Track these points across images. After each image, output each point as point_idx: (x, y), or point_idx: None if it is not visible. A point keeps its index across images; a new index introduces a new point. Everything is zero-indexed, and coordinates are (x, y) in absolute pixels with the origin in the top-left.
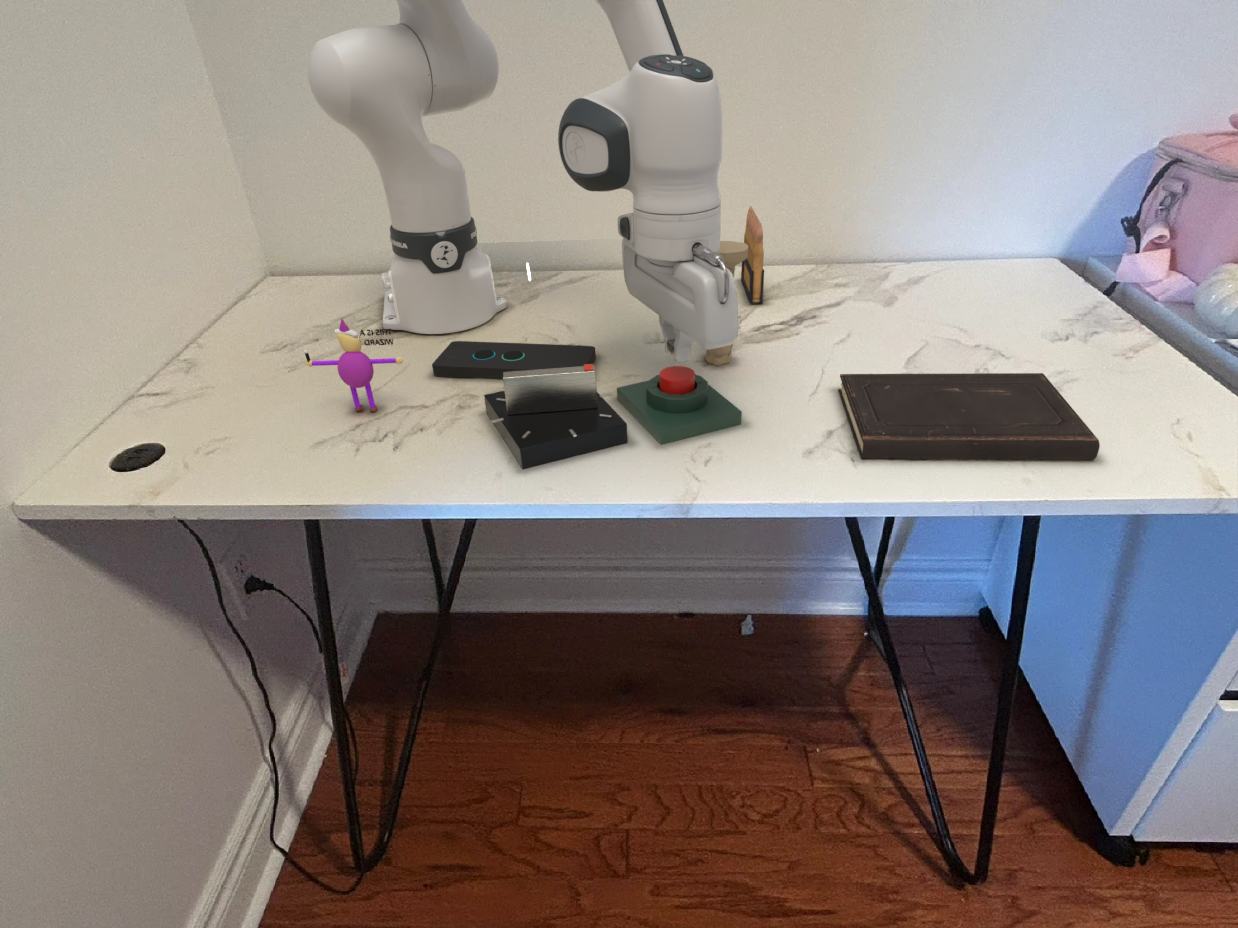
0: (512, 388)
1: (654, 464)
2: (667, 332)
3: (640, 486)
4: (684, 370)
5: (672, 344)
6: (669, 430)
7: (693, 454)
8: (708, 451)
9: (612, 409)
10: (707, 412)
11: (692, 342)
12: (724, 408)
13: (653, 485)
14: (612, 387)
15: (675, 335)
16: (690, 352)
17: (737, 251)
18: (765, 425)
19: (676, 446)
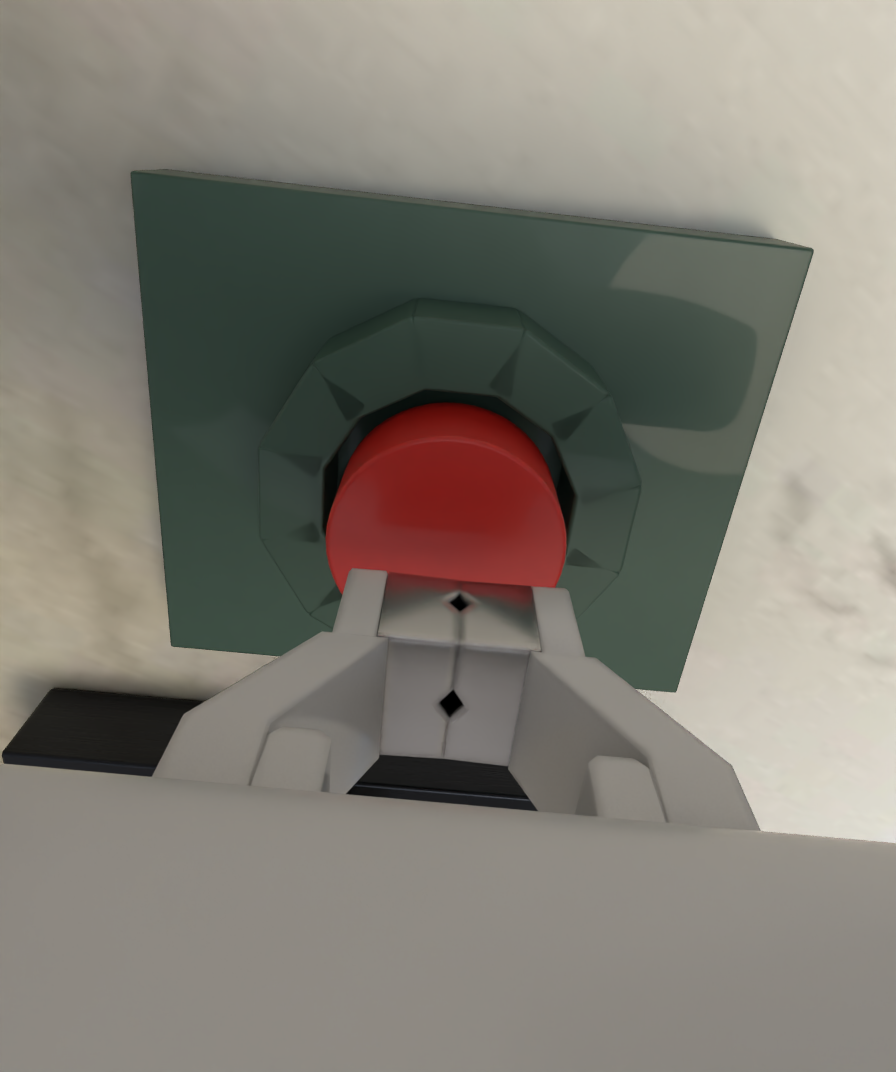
0: None
1: (751, 726)
2: (334, 785)
3: (826, 814)
4: (434, 489)
5: (471, 758)
6: (685, 654)
7: (807, 586)
8: (838, 525)
9: (425, 793)
10: (680, 427)
11: (620, 680)
12: (712, 318)
13: (854, 785)
14: (47, 562)
15: (365, 702)
16: (574, 617)
17: None
18: (885, 110)
19: (706, 606)
